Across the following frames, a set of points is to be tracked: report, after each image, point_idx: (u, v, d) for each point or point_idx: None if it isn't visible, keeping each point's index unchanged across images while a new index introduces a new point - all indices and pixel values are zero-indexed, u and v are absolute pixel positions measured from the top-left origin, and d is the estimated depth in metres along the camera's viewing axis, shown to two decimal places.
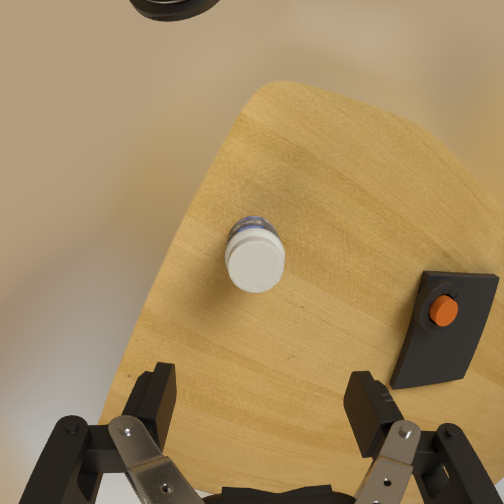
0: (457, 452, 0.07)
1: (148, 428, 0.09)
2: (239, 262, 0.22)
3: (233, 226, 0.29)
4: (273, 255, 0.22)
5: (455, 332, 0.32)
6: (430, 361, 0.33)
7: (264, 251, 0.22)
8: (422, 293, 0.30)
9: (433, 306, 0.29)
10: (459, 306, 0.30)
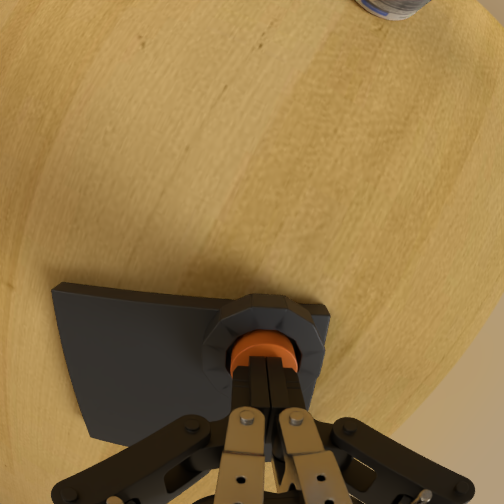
0: (370, 445, 0.08)
1: None
2: None
3: None
4: None
5: (188, 407, 0.18)
6: (120, 365, 0.17)
7: None
8: (296, 306, 0.15)
9: (275, 333, 0.15)
10: None
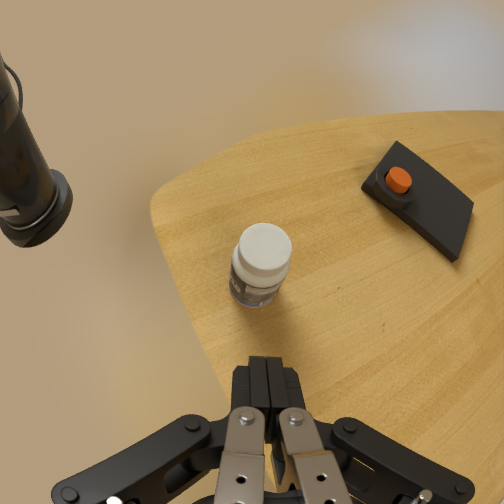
0: (370, 445, 0.08)
1: None
2: (253, 253, 0.23)
3: (230, 288, 0.29)
4: (265, 227, 0.24)
5: (426, 188, 0.38)
6: (444, 217, 0.36)
7: (257, 230, 0.23)
8: (377, 191, 0.36)
9: (390, 185, 0.35)
10: None
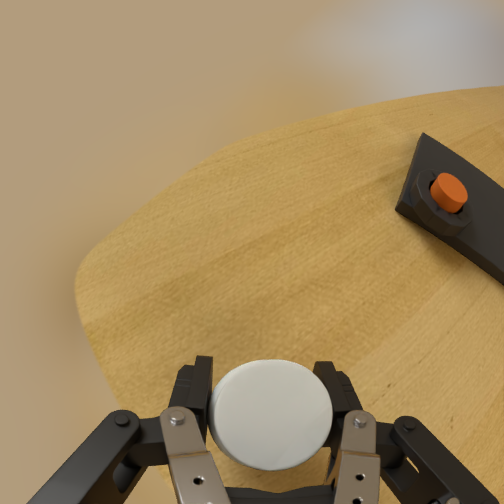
0: (421, 444, 0.08)
1: (196, 418, 0.10)
2: (249, 439, 0.09)
3: None
4: (268, 372, 0.10)
5: (474, 196, 0.25)
6: (502, 235, 0.23)
7: (251, 384, 0.09)
8: (422, 214, 0.22)
9: (441, 203, 0.22)
10: None
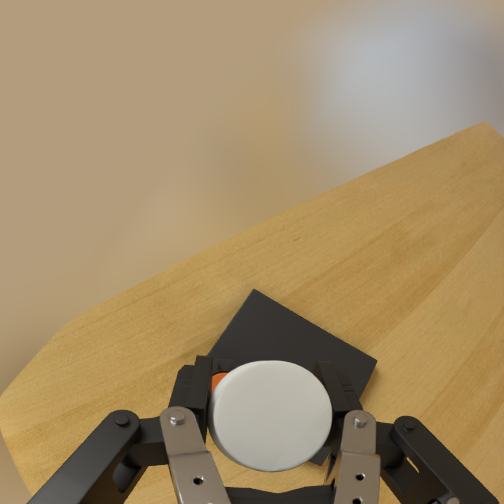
0: (421, 444, 0.08)
1: (197, 418, 0.10)
2: (248, 441, 0.09)
3: None
4: (268, 373, 0.10)
5: None
6: None
7: (251, 385, 0.09)
8: None
9: None
10: (237, 365, 0.28)
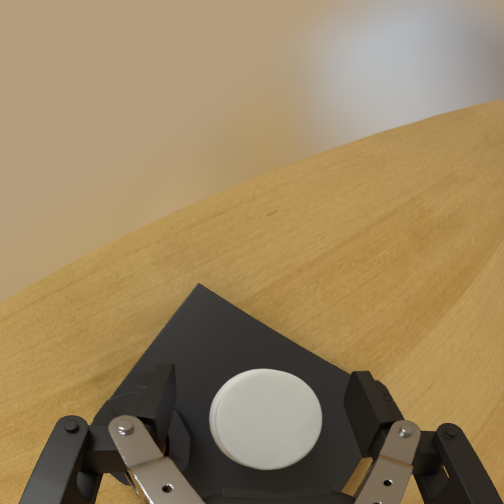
0: (457, 452, 0.07)
1: (148, 428, 0.09)
2: (246, 442, 0.10)
3: None
4: (264, 381, 0.11)
5: None
6: (279, 479, 0.15)
7: (248, 392, 0.10)
8: None
9: None
10: None
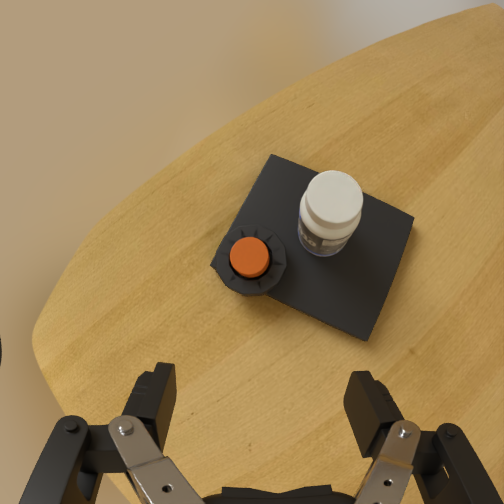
0: (457, 452, 0.07)
1: (148, 428, 0.09)
2: (325, 207, 0.20)
3: (301, 242, 0.28)
4: (328, 176, 0.21)
5: None
6: (347, 276, 0.27)
7: (321, 182, 0.21)
8: None
9: None
10: (261, 229, 0.27)
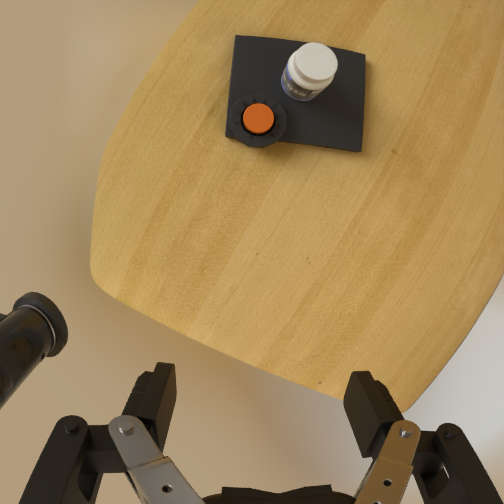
0: (457, 452, 0.07)
1: (148, 428, 0.09)
2: (313, 70, 0.24)
3: (289, 95, 0.31)
4: (307, 48, 0.23)
5: None
6: (330, 109, 0.33)
7: (304, 53, 0.23)
8: None
9: (252, 132, 0.32)
10: (257, 95, 0.31)
